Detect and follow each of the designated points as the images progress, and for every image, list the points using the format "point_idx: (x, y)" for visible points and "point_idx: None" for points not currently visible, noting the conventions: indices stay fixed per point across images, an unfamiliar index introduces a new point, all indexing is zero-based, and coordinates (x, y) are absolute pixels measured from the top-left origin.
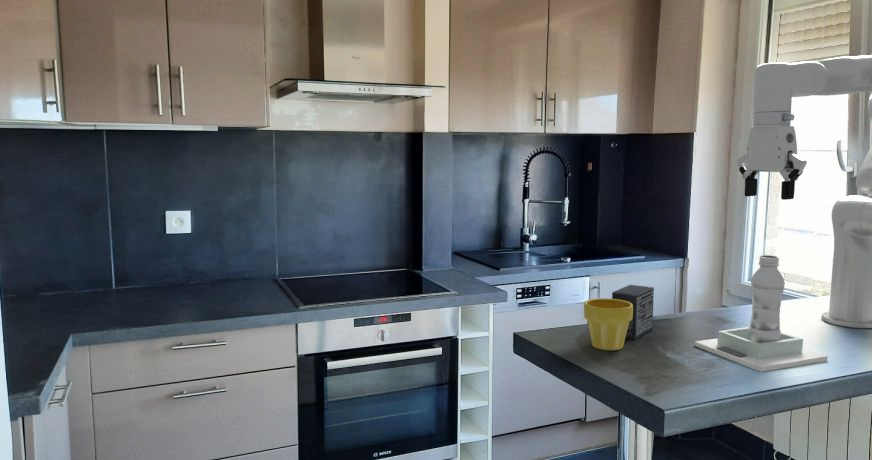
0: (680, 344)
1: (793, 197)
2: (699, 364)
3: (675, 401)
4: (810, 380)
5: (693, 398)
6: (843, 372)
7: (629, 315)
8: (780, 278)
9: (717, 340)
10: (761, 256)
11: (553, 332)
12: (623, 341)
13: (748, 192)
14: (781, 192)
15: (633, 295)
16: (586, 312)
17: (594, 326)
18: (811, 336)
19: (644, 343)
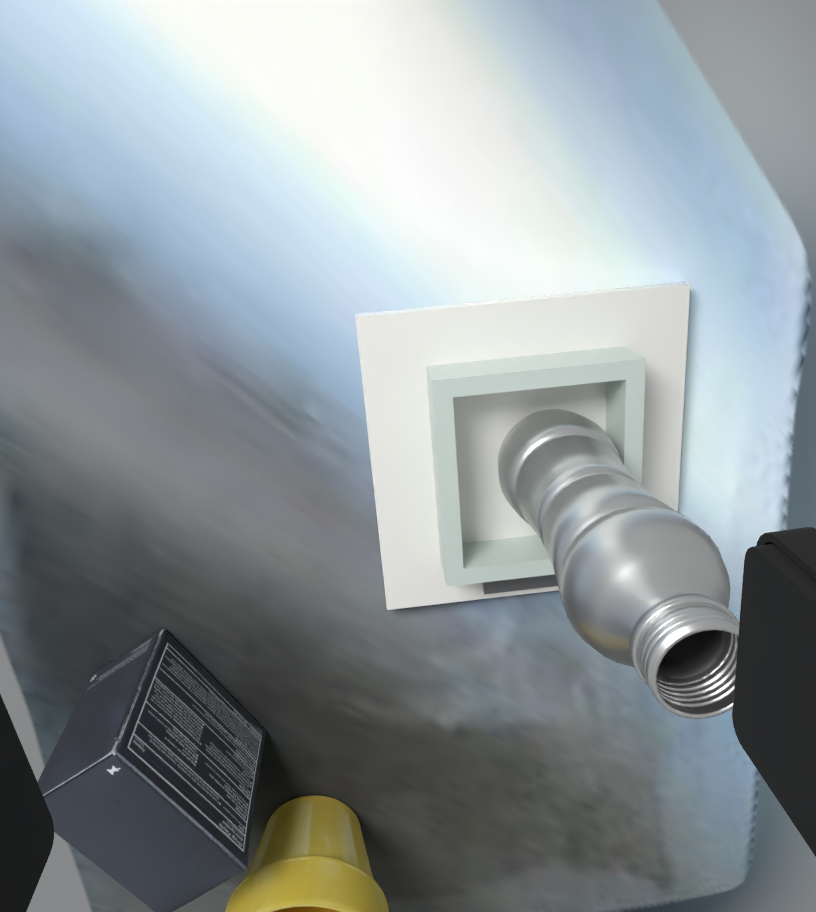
0: (356, 632)
1: (811, 535)
2: (545, 684)
3: (724, 853)
4: (779, 486)
5: (729, 815)
6: (782, 329)
7: (380, 903)
8: (728, 588)
9: (401, 532)
10: (656, 687)
11: (133, 909)
12: (353, 824)
13: (28, 874)
14: (793, 817)
15: (236, 873)
16: None
17: None
18: (414, 49)
19: (314, 726)
